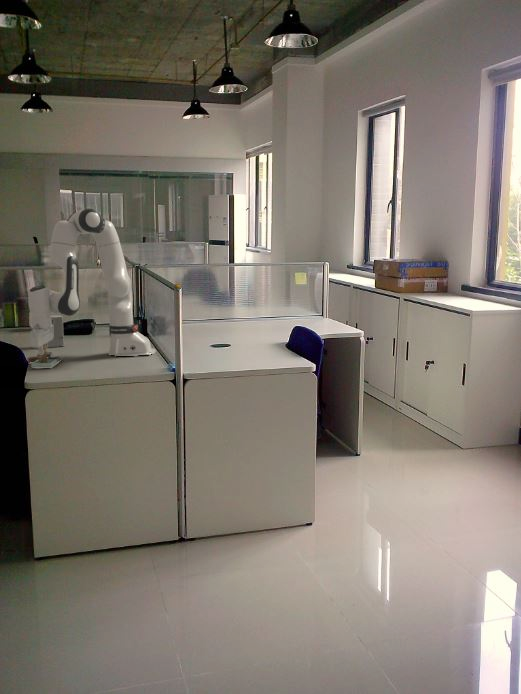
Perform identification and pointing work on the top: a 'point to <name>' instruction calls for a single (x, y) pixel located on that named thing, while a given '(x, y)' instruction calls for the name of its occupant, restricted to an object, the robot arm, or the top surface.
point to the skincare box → (57, 332)
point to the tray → (48, 364)
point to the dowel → (44, 357)
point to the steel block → (47, 354)
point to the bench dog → (33, 358)
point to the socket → (54, 358)
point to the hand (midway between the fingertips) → (43, 353)
